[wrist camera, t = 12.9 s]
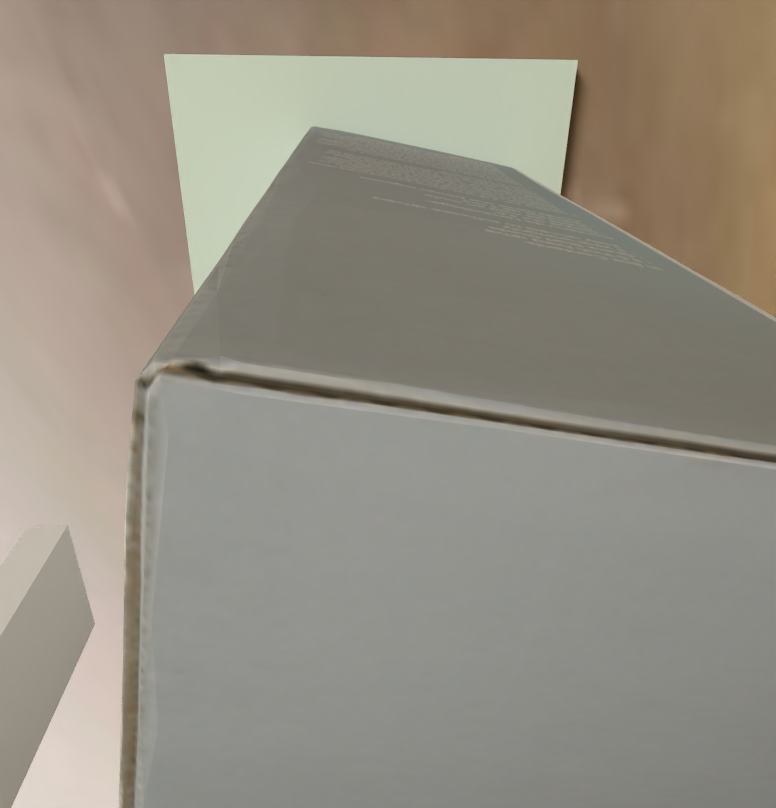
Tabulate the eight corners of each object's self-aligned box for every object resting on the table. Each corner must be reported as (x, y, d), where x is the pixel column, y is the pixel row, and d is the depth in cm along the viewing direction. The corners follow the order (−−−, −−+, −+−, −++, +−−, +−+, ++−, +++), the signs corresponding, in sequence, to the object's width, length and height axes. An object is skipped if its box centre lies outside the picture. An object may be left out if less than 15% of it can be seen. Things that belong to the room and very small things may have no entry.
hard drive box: (428, 524, 29) (541, 1231, 12) (255, 501, 28) (89, 1235, 11) (528, 160, 22) (1194, 540, 5) (303, 114, 21) (55, 371, 4)
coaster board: (170, 54, 21) (163, 54, 20) (570, 60, 22) (577, 60, 21) (231, 545, 30) (228, 557, 30) (510, 540, 31) (514, 551, 30)
